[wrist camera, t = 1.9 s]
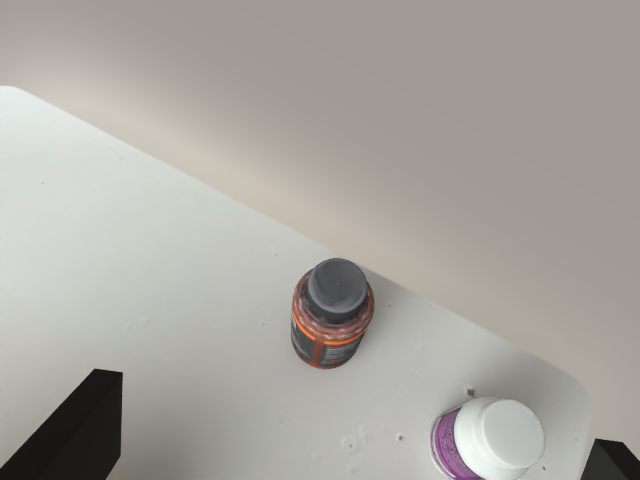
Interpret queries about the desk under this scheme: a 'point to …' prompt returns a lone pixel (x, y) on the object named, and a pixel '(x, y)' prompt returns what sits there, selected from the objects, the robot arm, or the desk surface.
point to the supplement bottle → (330, 313)
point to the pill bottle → (486, 440)
